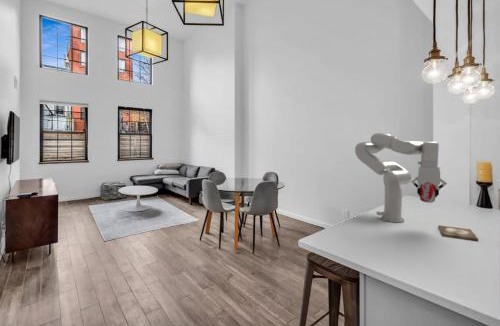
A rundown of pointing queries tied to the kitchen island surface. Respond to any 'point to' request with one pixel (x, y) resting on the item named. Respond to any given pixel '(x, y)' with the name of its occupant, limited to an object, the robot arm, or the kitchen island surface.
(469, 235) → the coaster board
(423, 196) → the soda can
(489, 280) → the kitchen island surface
